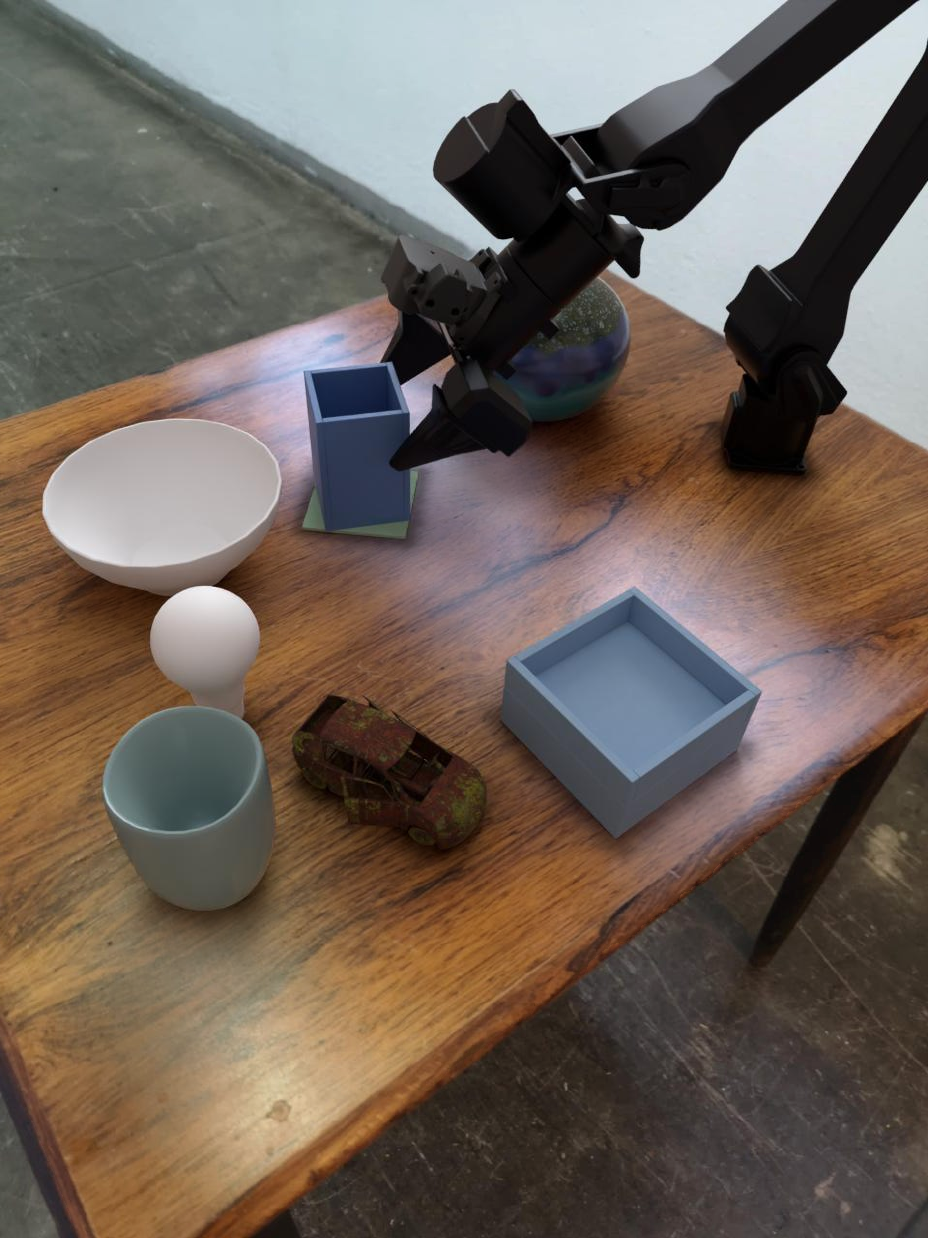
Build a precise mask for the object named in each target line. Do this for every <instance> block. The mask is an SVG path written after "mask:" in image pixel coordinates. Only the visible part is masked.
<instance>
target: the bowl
mask: <svg viewBox="0 0 928 1238" xmlns="http://www.w3.org/2000/svg"><path fill="white" fill-rule="evenodd" d="M282 493H283V479H282V474H281V470H280V465H279V462H278V460H277V458H276V457H275V456H274V455H273V453H272V452H271V450H270V449H269V448H268V446H267V445H266V444H264V443H263V442H261V441H260V440H259V439H257V437H255V436H253V435H251V434H250V433H249V432H246V431H245V430H242V429H239V428H236V427H234V426H231V425H229V424H227V423H223V422H222V423H221V422H217V421H212V420H206V419H200V418H165V419H157V420H148V421H142V422H139V423H134V424H131V425H128V426H124V427H120V428H116V429H114V430H111V431H110V432H107V433H105V434H103V435H101V436H98V437H96V438H94V439H91V440H90V441H88V442H86V444H83V445H82V446H81V447H80V448H78V449H77V450H75V451H74V452H72V453H70V455H68V456H67V457H66V458H65V459H64V460H63V461H62V462H61V464H59V466H58V467H57V468H56V469H55V470H54V472H52V473H51V475H50V478H49V480H48V482H47V485H46V487H45V488H44V491H43V492H42V511H41V513H42V516H43V519H44V522H45V524H46V526H47V528H48V530H49V533H50V535H51V536H52V538H53V540H54V541H55V544H56V545H57V546H59V547H60V548H61V550H62V551H63V552H65V553H66V554H67V555H68V556H69V557H70V558H71V559H72V560H73V561H74V562H75V563H76V564H77V565H78V566H79V567H80V568H82V569H84V570H86V571H88V572H89V573H91V574H94V575H95V576H98V577H100V578H101V579H104V580H106V581H108V582H109V583H112V584H114V585H115V584H116V585H119V586H124V587H128V588H131V589H136V590H142V591H147V592H149V593H150V594H154V595H159V596H164V597H173V596H174V595H176V594H177V593H179V592H181V591H183V590H186V589H188V588H192V587H197V586H212V587H214V585H216V584H218V583H220V582H221V580H222V579H223V578H225V577H226V576H227V575H228V574H229V573H230V571H233V569H236V568H237V567H238V566H239V565H240V564H242V562H244V561H245V560H246V559H247V558H248V557H249V556H250V555H251V554H253V552H255V551H256V550H257V549H258V548H259V547H260V546H261V544H262V543H263V541H264V540H265V538H266V537H267V535H268V533H269V532H270V530H271V528H272V527H273V525H274V523H275V521H276V518H277V515H278V514H279V513H278V512H279V510H280V509H279V508H280V503H281V498H282Z"/></svg>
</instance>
